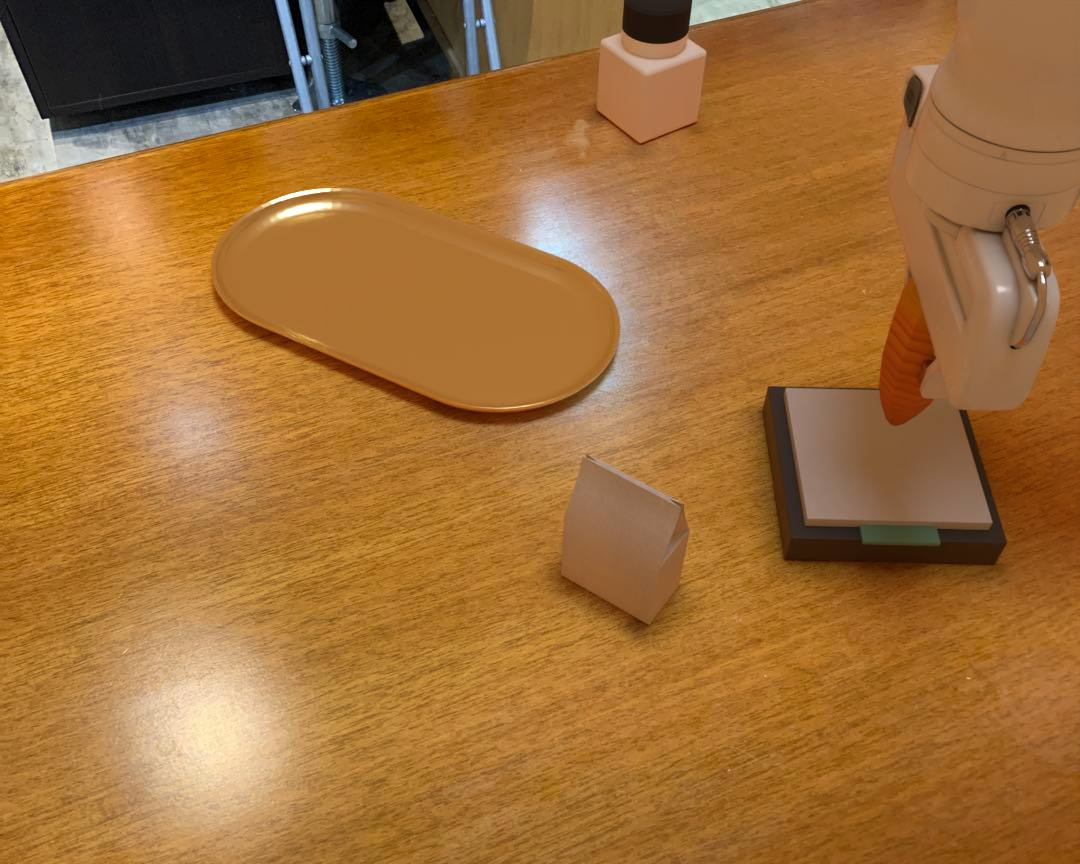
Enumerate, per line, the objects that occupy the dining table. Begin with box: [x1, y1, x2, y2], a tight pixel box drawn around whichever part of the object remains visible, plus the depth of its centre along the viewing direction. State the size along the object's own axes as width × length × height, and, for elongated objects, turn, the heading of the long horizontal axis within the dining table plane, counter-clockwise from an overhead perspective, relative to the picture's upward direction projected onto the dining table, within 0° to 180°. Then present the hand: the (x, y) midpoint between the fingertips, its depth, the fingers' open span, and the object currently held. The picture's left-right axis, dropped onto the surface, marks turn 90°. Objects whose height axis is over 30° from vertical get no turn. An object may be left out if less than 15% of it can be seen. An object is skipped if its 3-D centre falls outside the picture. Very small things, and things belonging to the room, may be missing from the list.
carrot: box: [878, 277, 936, 426], centre depth 66 cm, size 5×5×15 cm
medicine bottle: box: [596, 0, 708, 144], centre depth 100 cm, size 7×7×12 cm
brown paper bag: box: [560, 453, 691, 626], centre depth 67 cm, size 4×7×10 cm, turn 55°
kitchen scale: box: [762, 385, 1008, 565], centre depth 75 cm, size 14×14×3 cm
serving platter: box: [210, 187, 621, 414], centre depth 87 cm, size 19×35×2 cm, turn 61°
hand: (921, 354), depth 67 cm, fingers closed on carrot, 5 cm apart
